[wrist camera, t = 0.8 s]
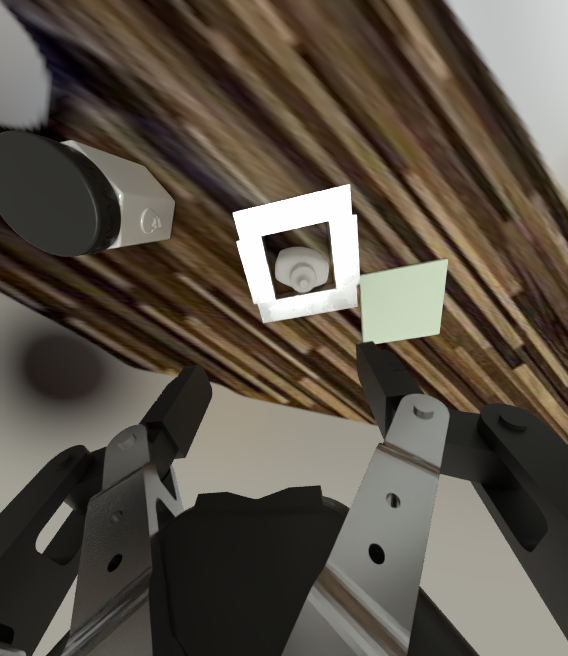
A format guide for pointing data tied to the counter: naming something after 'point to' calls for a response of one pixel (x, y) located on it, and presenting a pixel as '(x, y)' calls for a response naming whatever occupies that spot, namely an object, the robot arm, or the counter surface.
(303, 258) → the eye dropper bottle
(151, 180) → the jar
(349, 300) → the collar block
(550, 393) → the counter surface
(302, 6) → the counter surface
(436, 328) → the sage mat
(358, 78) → the counter surface
